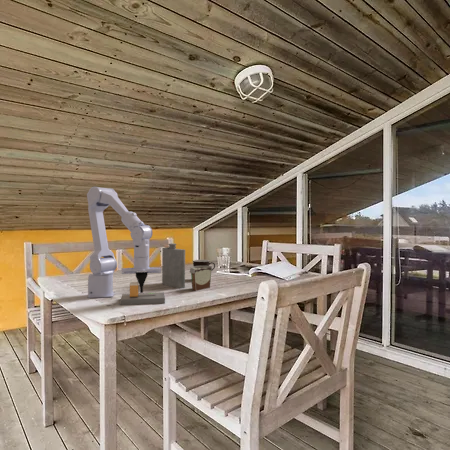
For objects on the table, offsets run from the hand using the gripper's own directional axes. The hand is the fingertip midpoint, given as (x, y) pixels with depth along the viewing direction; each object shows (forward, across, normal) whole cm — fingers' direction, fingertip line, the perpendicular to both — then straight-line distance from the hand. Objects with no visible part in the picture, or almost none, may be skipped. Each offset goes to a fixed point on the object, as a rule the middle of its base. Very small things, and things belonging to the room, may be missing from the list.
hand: (141, 292), depth 134 cm
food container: (+4, +25, +20) cm, 32 cm away
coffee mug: (+4, +31, +42) cm, 52 cm away
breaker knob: (+1, -3, 0) cm, 3 cm away
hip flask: (+4, +14, +29) cm, 32 cm away
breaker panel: (+3, +1, 0) cm, 3 cm away
